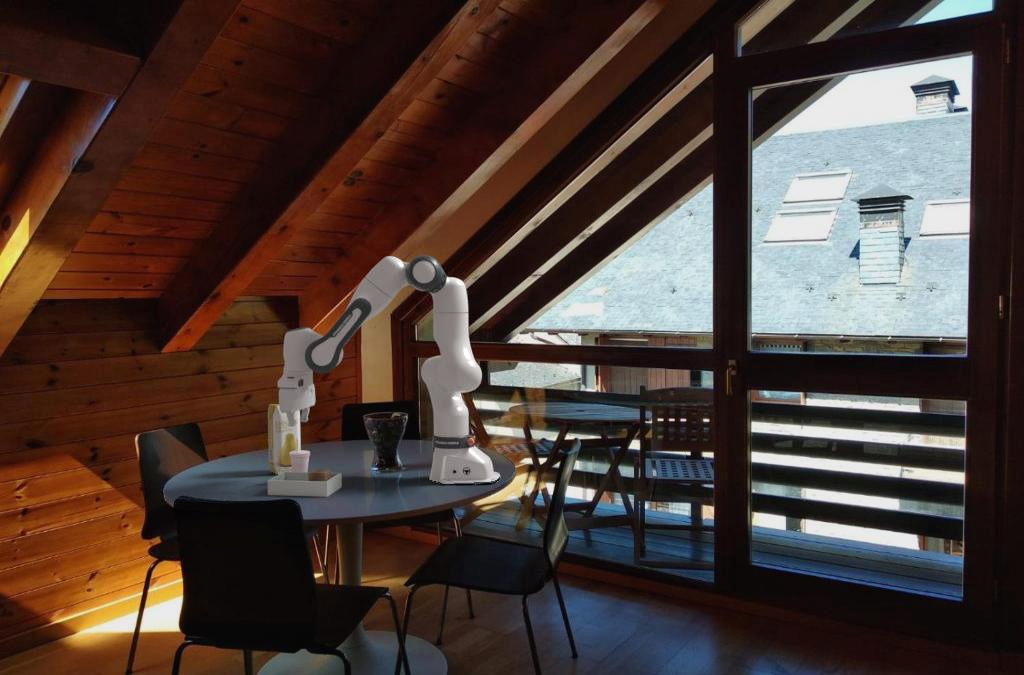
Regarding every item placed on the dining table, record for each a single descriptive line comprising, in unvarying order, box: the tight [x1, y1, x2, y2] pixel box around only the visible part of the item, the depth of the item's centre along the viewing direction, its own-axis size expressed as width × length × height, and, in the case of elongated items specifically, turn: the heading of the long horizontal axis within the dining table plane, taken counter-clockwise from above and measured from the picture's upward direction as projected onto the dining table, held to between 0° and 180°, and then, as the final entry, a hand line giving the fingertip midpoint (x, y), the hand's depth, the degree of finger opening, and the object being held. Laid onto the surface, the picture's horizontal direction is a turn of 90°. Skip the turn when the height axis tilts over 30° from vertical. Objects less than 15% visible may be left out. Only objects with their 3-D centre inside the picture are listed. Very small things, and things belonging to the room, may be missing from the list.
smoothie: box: [289, 438, 311, 472], centre depth 256 cm, size 6×6×14 cm
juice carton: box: [267, 403, 302, 475], centre depth 271 cm, size 9×8×24 cm
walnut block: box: [308, 468, 332, 482], centre depth 242 cm, size 5×5×6 cm
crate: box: [267, 471, 343, 498], centre depth 242 cm, size 18×12×5 cm, turn 82°
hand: (298, 423), depth 255 cm, fingers open, 8 cm apart
